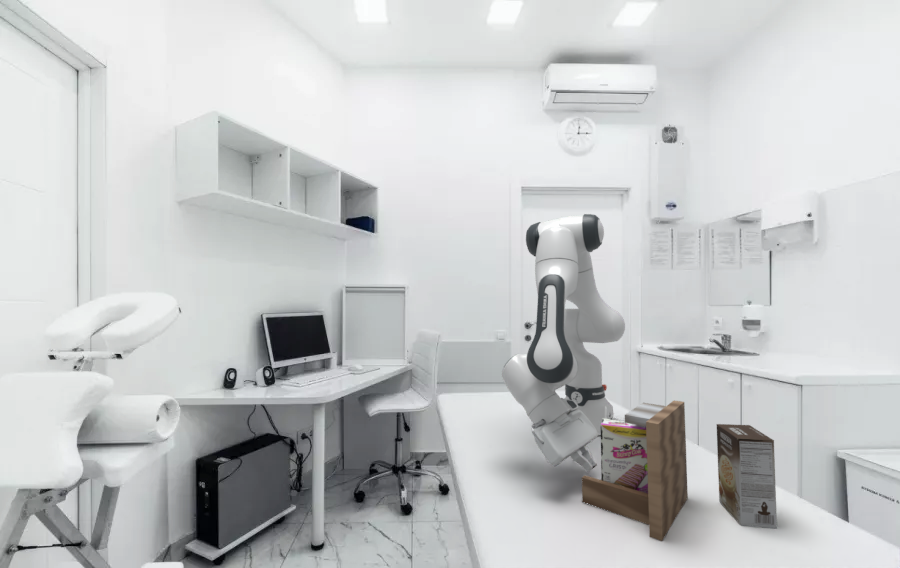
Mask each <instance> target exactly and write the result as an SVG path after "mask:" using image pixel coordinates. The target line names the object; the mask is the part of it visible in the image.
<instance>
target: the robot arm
mask: <svg viewBox="0 0 900 568" xmlns="http://www.w3.org/2000/svg"><path fill="white" fill-rule="evenodd" d="M604 237H605V230H604V226H603V223H602V222H601V220H600V218H599V216H597V215H596V214H591V213H590V214H589V213H588V214H587V213H586V214H585V213H584V214H583V215H569V216H561V217H560V218H553V219H550V220H546V221H541V222H540V221H539V222H535V223H533V224H531V225H530V226H529V227H528V228H527V230H526V235H525V243H526V244H525V245H526V247H527V251H528V253H529V254H530V255H532V256H533V257H535V264H534V271H535V272H534V273H535V285H536V291H537V309H536V327H535V333H534V337H533V339H532V341H531V343H530V345H529V348H528V350H527V353H517V354H514V356H512V357H510V358H509V359H508V360H507V361H506V363H504V366H503V368H502V371H501V378H502V380H503V382H504V385H505V386H506V388H507V389H508V391H509V393H510V394H511V396H512V397H513V398H514V399H515V401H516V402H517V403H518V404H519V405H520V406H522V408H523V409H524V410H525V413H526V415H527V417H528V418H529V420H530V421H531V422H532V423H533V424H532V425H531V434H532V435H533V437H534V442H535V443H536V446H537V447H538V449H539V451H540V452H541V454H542V455H543V457H544V458H545V460H546V461H547V463H549V464H550V465H551V466H553V467H557V465H559V464H561V463H562V462H564V461H565V460H566V459H569V458H571V459H572V461H573V462H574V463H577V464H578V465H580V466H581V467H582V468H583V469H584V471H585V472H586V473H590V472H591V471H593V469H595V468H596V467H597V466H598V463H597V461H596V460H595V459H594V458H593V454H592V453H591V450H590V448H589V447H588V446H587V445H589V444H590V443H592V442H593V441H594V440H595V439H596V438H597V437H598V436H601V422H602V418H603V419H613V420H620V419H619V418H615V417H614V407H613V405H612V404H611V403H610V401H608V399H607V398H606V391H607V388H608V385H607V384H605V383H603V373H602V371H603V370H602V369H603V367H602V362H601V361H600V359H599V358H598V357H597V356H596V355H595V354H592V353H591V352H590V351H588V350H587V349H586V348H585V346H584V343H589V344H590V343H593V344H607V343H615V342H618V341H620V340H621V338H622V337H623V336H624V334H625V330H626V323H625V320H624V317H623V316H622V315H621V313H620V312H618V311H617V310H616V309H614V308H612V307H611V306H609V305H608V304H607V302H606V301H605V300H604V299H603V297H601V295H600V293H599V291H598V288H597V285H596V280H595V275H594V268H593V261H592V257H591V253H593V252H594V251H595V250H598V249H599V248H600V246H602V244H603V240H604ZM566 301H568V302H571V303H573V305H575V306H576V307H577V308H565V307H566ZM562 387H564V392H565V393H564V394H565V397H560V396H559V394H558V393H557V392H556V390H559V389H560V388H562Z"/></svg>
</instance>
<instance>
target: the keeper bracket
mask: <svg viewBox="0 0 900 568" xmlns="http://www.w3.org/2000/svg"><path fill="white" fill-rule="evenodd" d="M685 415H686V412H685V401H681V400H672V401H671V402H670V403H669V404H667V405H661V404H653V403H648V402H642V403H641V404H639V405H637V406H636V407H634V408H632V409H631V410H630V411H628V412H626V413H625V414H624V421H625V423H630V424H635V425H641V426H646V439H647V471H648V494H647V493H644V492H641V491H637V490H634V489H630V488H627V487H623V486H620V485H617V484H613V483H610V482H606V481H603V480H601V479H600V478H599V479H598V478H595V477H593V476H589V475H583V476H582V477H581V501H582V503H583V502H585V503H584V504H586V503H588V504H587V505H589V504H590V505H589V506H592V505H593V506H592V507H595V506H596V507H595V508H598V507H599V508H598V509H601V508H602V510H604V509H605V510H604V511H607V510H608V511H607V512H610V511H611V512H610V513H613V514H615V513H616V515H618V514H619V515H618V516H621V515H622V517H625V518H628V519H630V520H634V521H636V522H639V523H643V524H645V525H648V527H649V529H648V531H649V532H648V533H649V535H648V536H649V538H652V539H654V540H658V541H660V542H663V541H664V539H665V537H666V536H667V534H668V532H669V530H670V529H671V527H672V526H673V524H674V522H675V520H676V518H677V517H678V515H679V514H680V513H681V510H682V509H683V507H684V506H685V504H686V502H687V500H688V498H689V495H688V494H689V493H688V470H687V466H688V465H687V443H686V438H687V437H686V416H685Z"/></svg>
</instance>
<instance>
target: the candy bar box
mask: <svg viewBox="0 0 900 568" xmlns="http://www.w3.org/2000/svg"><path fill="white" fill-rule="evenodd" d="M600 464H601V465H600V469H601V472H600V473H601V474H600V475H601V478H600V480H603V481H606V482H610V483H613V484H617V485H620V486H623V487H627V488H630V489H634V490H637V491H641V492H644V493H647V494H648V471H647V439H646V426H641V425H635V424H630V423H625V420H621V419H619V420H613V419H603V418H602V422H601V435H600Z"/></svg>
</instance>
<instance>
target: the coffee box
mask: <svg viewBox="0 0 900 568" xmlns="http://www.w3.org/2000/svg"><path fill="white" fill-rule="evenodd" d="M716 441H717V442H716V447H717V475H718V500H719V503H720V504H721V505H722V506H723V508H725V510H726V511H727V512H728V513H729V514H730V515H731V517H732V518H734V520H735V521H736V522H737V523H738V524H739V526H742V527H743V526H744V527H755V528H756V527H757V528H764V529H765V528H767V529H777V528H778V519H777V518H778V517H777V494H776V493H777V492H776V491H777V490H776V463H775V459H776V458H775V440H774V439H773V438H771V437H769V436H767V435H766V434H764V433H763V432H761V431H760V430H758V429H756V427H753V426H751V424H750V425H749V424H727V423H726V424H725V423H724V424H723V423H722V424H721V423H716Z"/></svg>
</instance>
